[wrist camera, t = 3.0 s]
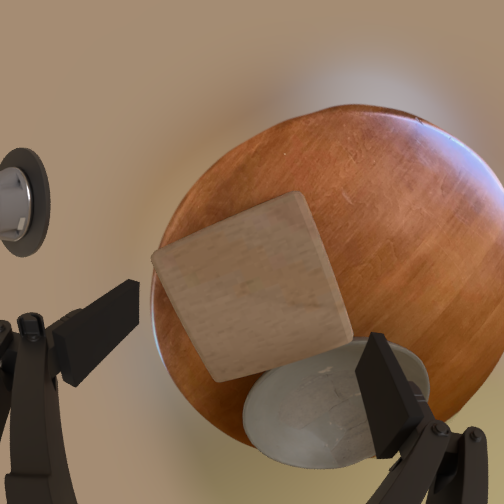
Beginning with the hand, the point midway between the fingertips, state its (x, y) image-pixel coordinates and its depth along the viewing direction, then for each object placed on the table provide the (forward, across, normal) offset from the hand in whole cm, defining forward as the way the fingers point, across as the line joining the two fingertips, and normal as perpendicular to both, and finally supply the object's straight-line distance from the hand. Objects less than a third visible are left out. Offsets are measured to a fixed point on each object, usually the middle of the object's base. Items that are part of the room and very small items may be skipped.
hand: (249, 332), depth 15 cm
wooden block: (+22, 0, 0) cm, 22 cm away
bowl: (+22, +15, -21) cm, 34 cm away
